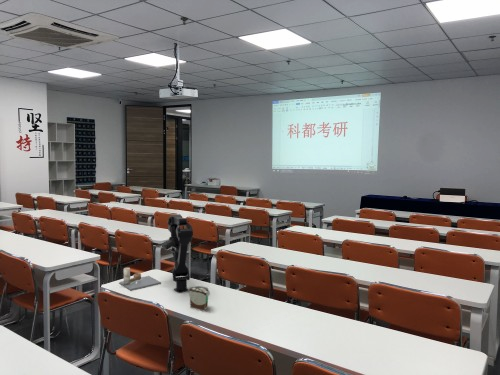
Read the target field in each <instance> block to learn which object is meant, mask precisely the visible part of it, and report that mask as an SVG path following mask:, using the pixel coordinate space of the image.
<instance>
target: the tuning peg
mask: <svg viewBox="0 0 500 375" xmlns="http://www.w3.org/2000/svg"><path fill="white" fill-rule="evenodd" d="M141 277H142V273H141V272H136V273H134V274H133V277H132V278H131V268H130V267H124V268H123V281H124V284H130V282H133V281H135V280H140V279H141Z"/></svg>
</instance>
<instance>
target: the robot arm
mask: <svg viewBox="0 0 500 375" xmlns="http://www.w3.org/2000/svg"><path fill="white" fill-rule="evenodd" d="M167 225H168V226H167V230H168V232H170V236H169V238H168V240H166V241H164V242H162V243H161V246H162V249H163V250H165V251H167V250H169V251H170V252H171V253H172V254H171V255H172V256H173V260H174V266H173V269H172V272H171V273H172V281H174V282H175V288H173V290H174V291H176V292H177V293H183V291H184V292H188V291H187V290H188V289H189V288H188V284H187V282H188V281H190V279H191V278H190V277H191V276H190V272H189V271H190V270H189V267H188V263H187V258H188V256H187V254H188V252H189V248H188V246H189V244H190V243H191V242H192V239H193V237H194V230H193V226H192V225H191V224H190V223H189V222H188V218H184V217H183V216H182V215H181V214H172V215H169V217H168V220H167ZM183 226H185V227H186V228H181V227H183Z"/></svg>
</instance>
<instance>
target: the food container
mask: <svg viewBox="0 0 500 375" xmlns="http://www.w3.org/2000/svg"><path fill="white" fill-rule="evenodd" d="M187 292H188V294H189V295H188V296H189V305H190V308H192V309H194V310H195V309H196V310H198V311H202V312H206V311H207V310H208V303H209V296H210V294H211V293H210V289H209V288H208V287H206V286H202V285H201V286H200V285H195V286H194V285H193V286H191V287H189V288H188V291H187Z"/></svg>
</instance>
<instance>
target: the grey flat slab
mask: <svg viewBox="0 0 500 375" xmlns="http://www.w3.org/2000/svg"><path fill="white" fill-rule="evenodd" d="M118 284H119V285H121V286H122V287H123V288H126V289H127V290H129V291H130V292H133V291H137V290H139V289H145V288H149V287H153V286H158V285H162V282H161V281H159V280H157V279H156V278H153V277H152V276H150V275H147V276H141V279H140V280H135V281H133V282H130V284H124V280H122V281H119V283H118Z"/></svg>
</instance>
